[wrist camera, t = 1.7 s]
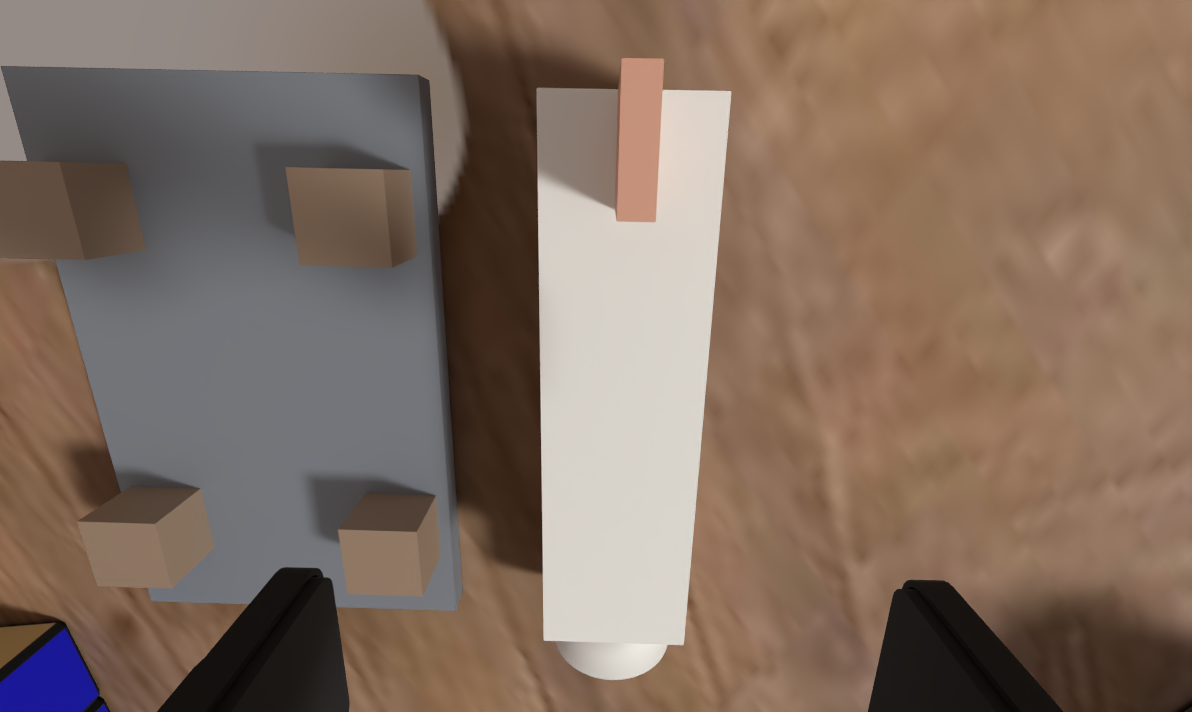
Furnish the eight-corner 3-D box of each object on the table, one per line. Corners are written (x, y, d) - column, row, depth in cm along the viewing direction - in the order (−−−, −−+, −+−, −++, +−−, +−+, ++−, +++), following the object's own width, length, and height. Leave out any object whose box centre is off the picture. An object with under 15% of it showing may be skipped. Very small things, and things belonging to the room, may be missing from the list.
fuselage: (556, 112, 20) (510, 56, 10) (696, 114, 20) (776, 60, 10) (558, 579, 26) (530, 808, 17) (663, 582, 26) (695, 814, 17)
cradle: (36, 72, 20) (-89, 50, 16) (429, 80, 20) (390, 59, 16) (170, 582, 27) (104, 644, 23) (462, 591, 26) (440, 656, 23)
